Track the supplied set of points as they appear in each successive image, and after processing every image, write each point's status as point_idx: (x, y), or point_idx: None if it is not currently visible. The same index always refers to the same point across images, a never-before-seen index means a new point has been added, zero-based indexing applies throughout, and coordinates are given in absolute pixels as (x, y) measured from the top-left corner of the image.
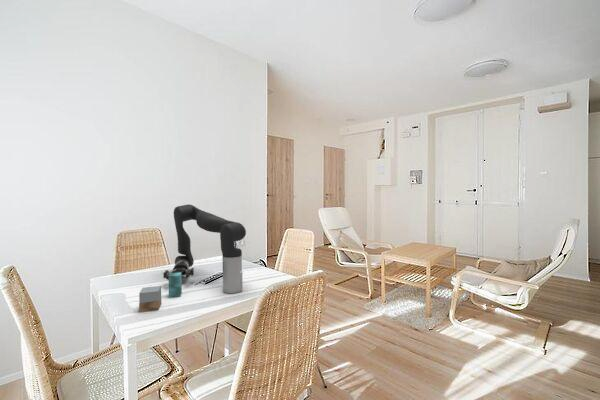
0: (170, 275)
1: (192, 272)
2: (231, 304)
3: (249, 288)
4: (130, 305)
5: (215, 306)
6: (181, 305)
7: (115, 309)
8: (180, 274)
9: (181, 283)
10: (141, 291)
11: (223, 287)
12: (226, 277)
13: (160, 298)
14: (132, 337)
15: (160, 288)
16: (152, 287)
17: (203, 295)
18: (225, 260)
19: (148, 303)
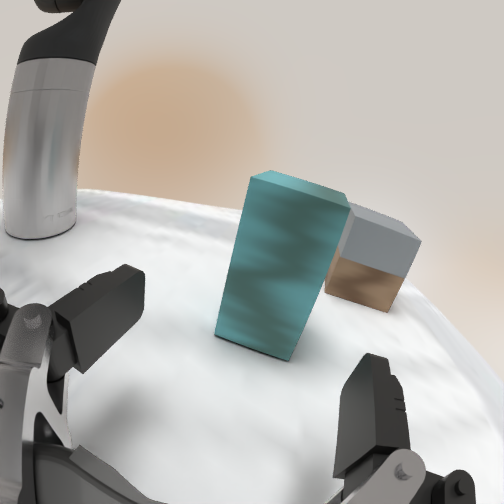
0: (334, 191)
1: (5, 306)
2: (135, 195)
3: None
4: (433, 338)
5: (171, 206)
6: None
7: (456, 333)
8: (267, 171)
9: (230, 268)
10: (403, 225)
11: (70, 207)
12: (79, 152)
13: (335, 256)
14: None
15: (350, 218)
16: (383, 224)
17: (140, 253)
18: (92, 78)
19: None
